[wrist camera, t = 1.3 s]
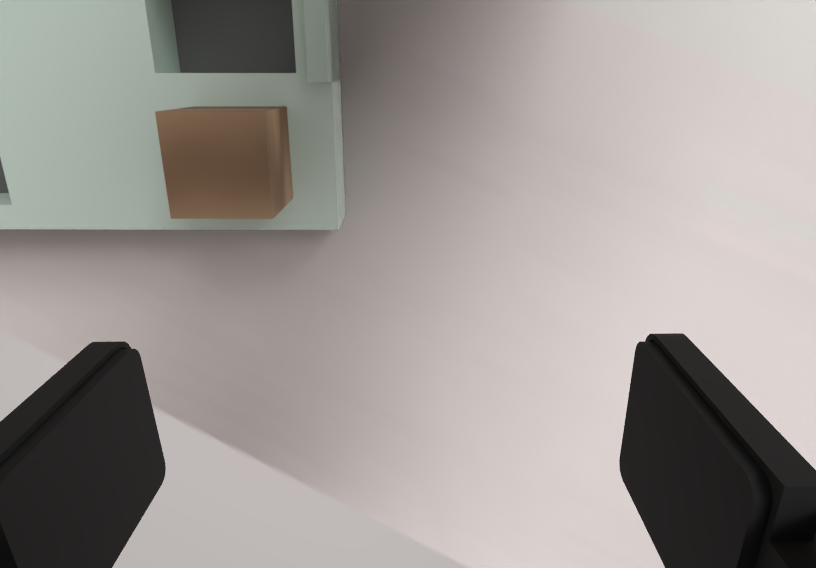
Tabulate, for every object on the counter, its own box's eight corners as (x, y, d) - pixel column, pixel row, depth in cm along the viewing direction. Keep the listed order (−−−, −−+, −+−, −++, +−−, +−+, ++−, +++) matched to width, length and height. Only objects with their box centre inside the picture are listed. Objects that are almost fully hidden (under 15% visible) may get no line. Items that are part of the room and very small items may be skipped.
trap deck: (-168, -77, 25) (-281, -107, 21) (334, -78, 24) (318, -108, 20) (-79, 214, 29) (-158, 236, 25) (345, 215, 29) (334, 237, 25)
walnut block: (194, 106, 24) (154, 111, 21) (286, 106, 24) (264, 111, 20) (206, 197, 26) (170, 218, 22) (293, 198, 26) (273, 218, 22)
